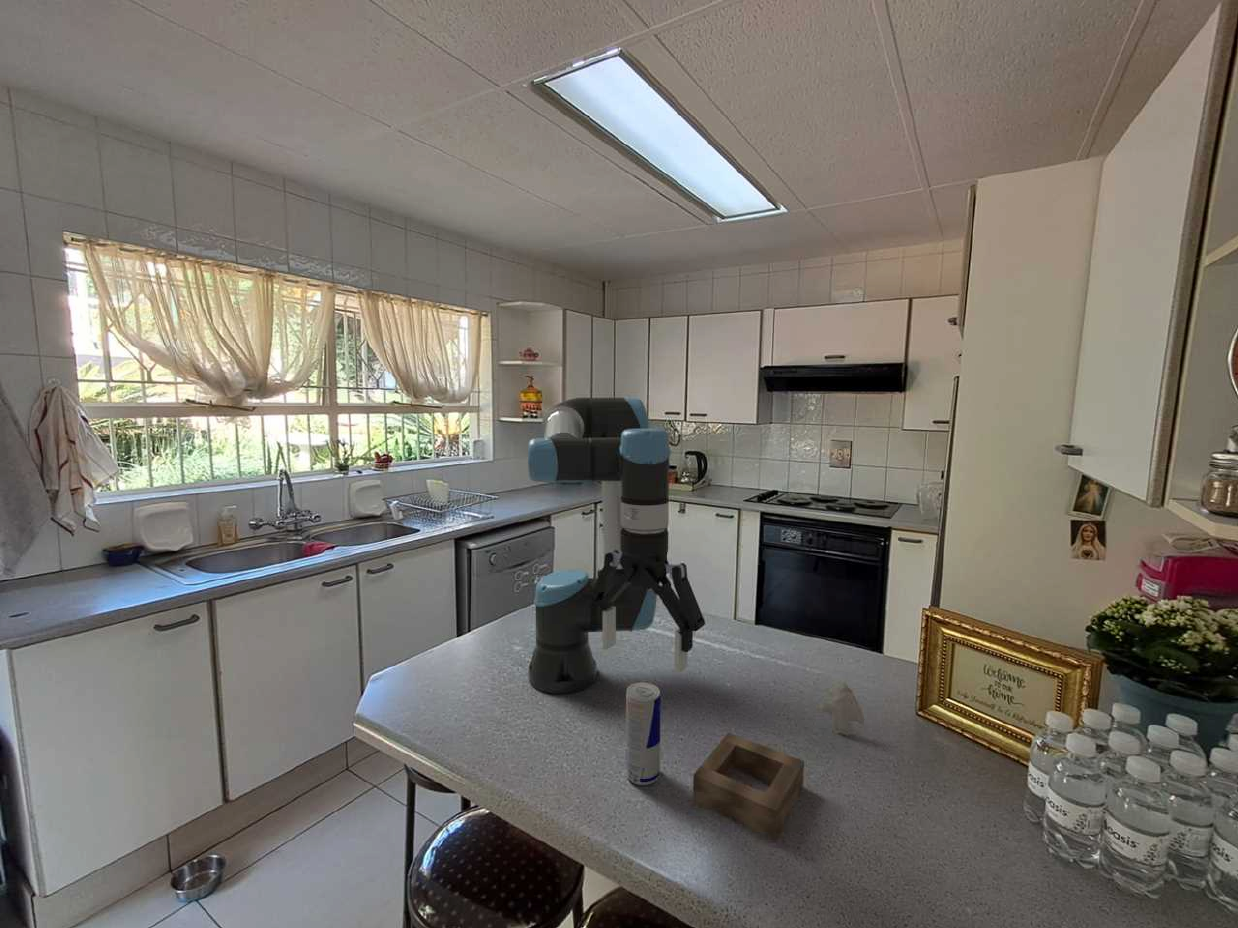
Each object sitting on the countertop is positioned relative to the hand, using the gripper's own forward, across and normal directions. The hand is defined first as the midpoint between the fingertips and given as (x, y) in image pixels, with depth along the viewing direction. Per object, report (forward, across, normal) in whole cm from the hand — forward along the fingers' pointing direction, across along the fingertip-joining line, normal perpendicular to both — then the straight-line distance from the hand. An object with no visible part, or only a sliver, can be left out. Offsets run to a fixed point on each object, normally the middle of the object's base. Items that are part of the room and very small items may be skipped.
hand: (643, 657), depth 88 cm
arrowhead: (+21, +24, +31) cm, 44 cm away
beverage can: (+21, 0, 0) cm, 21 cm away
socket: (+21, +16, +6) cm, 27 cm away
